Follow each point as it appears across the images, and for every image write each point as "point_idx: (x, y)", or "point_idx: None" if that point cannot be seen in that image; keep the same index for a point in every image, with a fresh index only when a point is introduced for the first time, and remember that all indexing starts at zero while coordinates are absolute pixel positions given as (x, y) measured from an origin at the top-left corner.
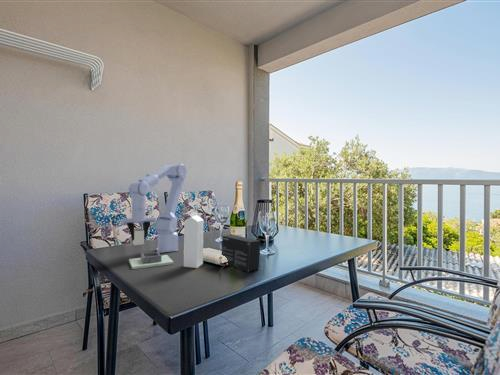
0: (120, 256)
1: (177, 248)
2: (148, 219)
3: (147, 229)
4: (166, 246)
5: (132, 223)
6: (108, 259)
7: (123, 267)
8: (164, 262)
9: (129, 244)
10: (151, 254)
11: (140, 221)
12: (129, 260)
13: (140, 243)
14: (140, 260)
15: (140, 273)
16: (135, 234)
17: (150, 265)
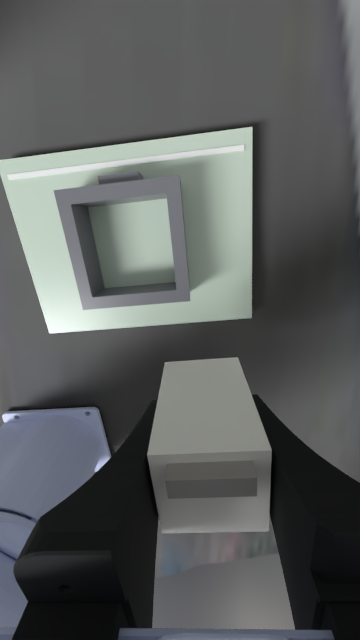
0: (276, 409)
1: (3, 426)
2: None
3: (102, 471)
4: (47, 432)
5: (348, 625)
6: (337, 378)
7: (290, 201)
8: (52, 163)
9: (220, 557)
10: (126, 291)
11: (209, 635)
12: (251, 289)
13: (191, 364)
14: (193, 265)
15: (208, 5)
16: (247, 419)
17: (139, 144)
